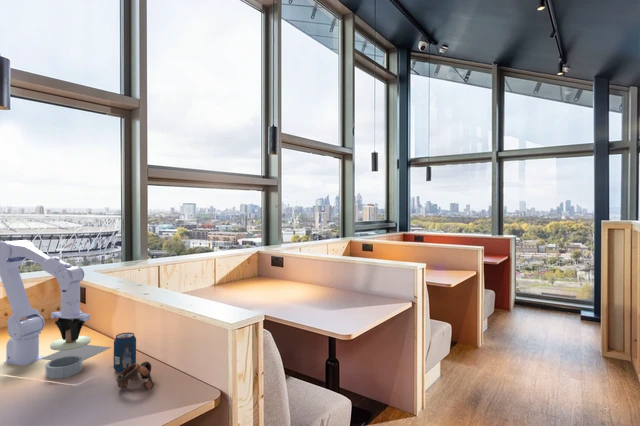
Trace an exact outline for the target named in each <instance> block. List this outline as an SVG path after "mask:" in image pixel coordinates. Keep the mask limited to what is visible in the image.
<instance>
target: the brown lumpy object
mask: <svg viewBox="0 0 640 426" xmlns="http://www.w3.org/2000/svg"><path fill="white" fill-rule="evenodd" d="M151 371H152V364H151V363H150V362H149V361H144V362H142V363H141V364H139V363H138V362H136V363H135V364H132V365H131V366H129V367H128V368H126V369H125V370H124V371H122V372H121V373H120V374H119V375H117V376H116V382H117V387H118V388H123V387H126V388H127V387H128V388H129V382H130V381H139V380H140V378H139V374H140V376H141V379H142V380H148V381H147V382H146V383H145V384H144V386H145V387H146V388H147V391H150V389H151V388H152V387H153V385H154V381H153V380H152V376H151ZM138 373H139V374H138ZM121 374H122V375H121Z"/></svg>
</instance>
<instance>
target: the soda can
mask: <svg viewBox="0 0 640 426" xmlns="http://www.w3.org/2000/svg"><path fill="white" fill-rule="evenodd" d="M135 363H137V338H136V336H135V333H134V332H121V333H118V334H117V335H115V339H114V340H113V370H114V371H115V372H116V373H118V374H122V373H121V372H122V371H124V370H125V369H126V368H128V367H129V366H131V365H132V364H135Z"/></svg>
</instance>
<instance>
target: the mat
mask: <svg viewBox="0 0 640 426" xmlns="http://www.w3.org/2000/svg"><path fill="white" fill-rule="evenodd" d="M111 348H112V347H111V346H109V347H108V346H100V345H93V344H87V345H85V346H83V347H80V348H76V349H71V350H62V351H58V350H57V351H56V352H54V353H51V354H49V355H46V356H45V357H44V358H41V359H40V360H45V361H46V360H47V361H52V360H54V359H57V358H61V357H66V356H79V357H81V358H82V362H83V361H86V360H87V359H89V358H92V357H94V356H96V355H98V354H101V353H103V352H105V351H107V350H109V349H111Z"/></svg>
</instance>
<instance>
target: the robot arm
mask: <svg viewBox="0 0 640 426" xmlns="http://www.w3.org/2000/svg"><path fill="white" fill-rule="evenodd" d="M26 259H28V260H31V261H32V262H35V263H36V264H39V265H40V266H42V270H43V271H45V272H46V273H48V274H49V275H51V276H53V277H55V278H56V282H57V283H58V286H59V290H60V311H54V312H50V319H57V320H55V321H54V324H55V325H56V327H57V328H58V330H59V332H60V336H61V339H63V340H65V331H66V330H71V340H72V341H75V340H77V339H78V337H79V336H80V333H81V330H82V327H83V326H84V324H85V322H89V321H90V320H91V314H90V313H85V312H82V310H81V281H83V280H84V278H85V271H84V270H83V268H82V267H81V266H79V265H75V266H74V265H71V263H67V262H65V261H64V260H62V259H61V256H60V257H59V256H51V257H50V256H49V255H47V254H45V253H44V252H43V251H41V250H40V249H39V248H37V247H35V244H34V243H33V242H31V241H29V240H28V239H21V240H12V241H9V240H8V241H0V280H1V282H2V285H3V288H4V291H5V295H6V297H7V300H8V304H9V307H10V310H11V312H12V314H11V315H10V316H9V318H8V319H7V320H6V324H7V334H8V336H9V337H10V338H9V339H8V341H7V342H6V349H5V350H6V355H5V356H6V359H5V360H6V361H4V362H3V363H4V364H11V365H19V366H27V365H29V364H32V363H35V362H37V361H39V360H42V359H41V358H44V357H46V356H45V355H40V335H41V334H42V333H41V332H42V331H43V330H44V328H45V325H46V323H45V322H46V321H45V319H44V317H43V316H42V315H41V313H40V310H38V309H36V308H33V307H31V304H30V301H29V297H28V295H27V291H26V288H25V286H24V282H23V280H22V277H21V273H20V271H19V266H20V264H23V262H24V261H25V260H26Z"/></svg>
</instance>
